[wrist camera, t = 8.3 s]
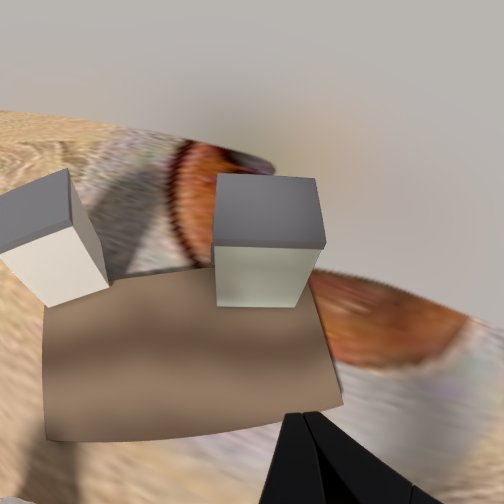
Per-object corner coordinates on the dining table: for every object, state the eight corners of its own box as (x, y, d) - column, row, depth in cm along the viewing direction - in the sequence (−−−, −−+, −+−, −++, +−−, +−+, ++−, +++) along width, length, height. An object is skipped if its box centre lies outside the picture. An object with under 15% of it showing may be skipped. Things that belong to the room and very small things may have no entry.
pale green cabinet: (295, 308, 21) (326, 242, 15) (213, 306, 20) (207, 238, 14) (291, 254, 23) (315, 178, 17) (215, 252, 23) (213, 173, 16)
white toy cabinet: (110, 287, 21) (69, 218, 14) (45, 309, 19) (-12, 250, 13) (101, 241, 22) (67, 167, 16) (41, 262, 21) (-5, 197, 15)
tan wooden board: (338, 406, 19) (343, 404, 18) (53, 440, 15) (46, 440, 15) (296, 262, 24) (299, 254, 23) (51, 294, 21) (45, 288, 20)
